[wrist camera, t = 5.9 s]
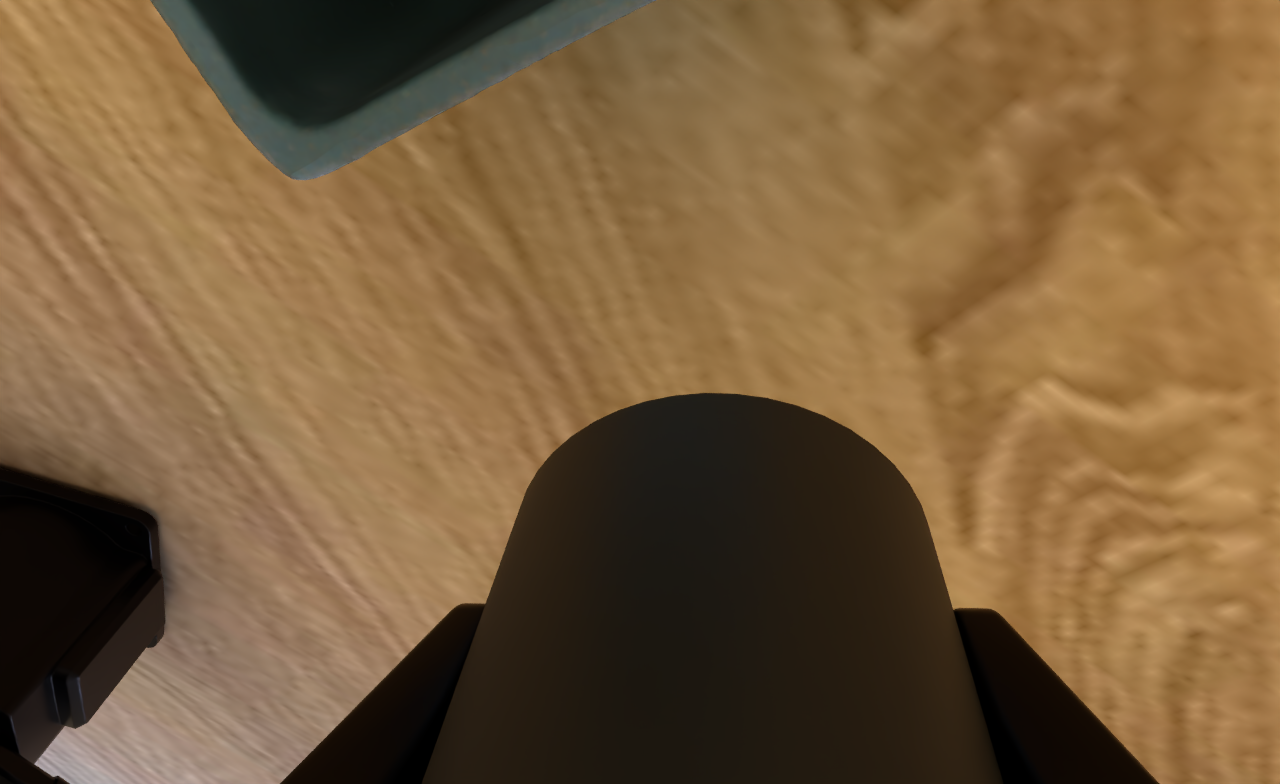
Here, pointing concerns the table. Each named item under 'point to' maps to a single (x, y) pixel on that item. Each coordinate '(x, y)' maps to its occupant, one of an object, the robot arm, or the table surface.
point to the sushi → (717, 615)
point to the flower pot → (364, 63)
